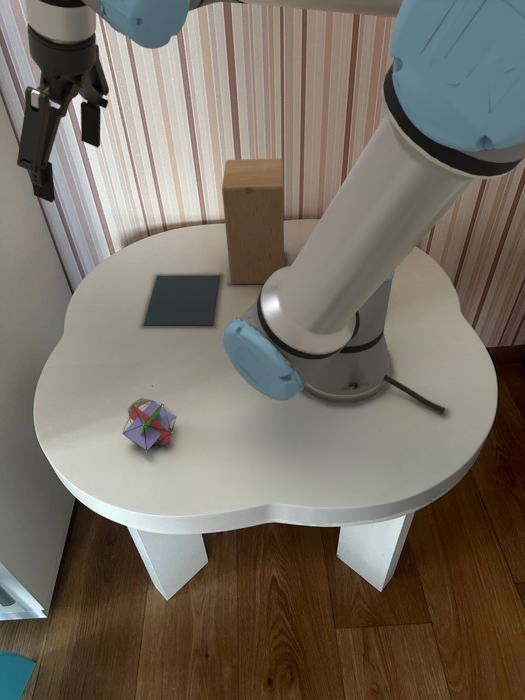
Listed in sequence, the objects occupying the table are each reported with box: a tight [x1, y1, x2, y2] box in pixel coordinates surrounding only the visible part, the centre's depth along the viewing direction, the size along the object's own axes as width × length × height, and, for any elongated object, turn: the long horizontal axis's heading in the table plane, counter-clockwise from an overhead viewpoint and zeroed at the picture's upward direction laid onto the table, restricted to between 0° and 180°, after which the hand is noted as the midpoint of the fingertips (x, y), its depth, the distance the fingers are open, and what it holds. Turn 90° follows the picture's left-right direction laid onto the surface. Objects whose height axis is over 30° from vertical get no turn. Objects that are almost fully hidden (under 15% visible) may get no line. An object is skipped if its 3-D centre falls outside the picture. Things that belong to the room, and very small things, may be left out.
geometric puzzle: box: [121, 397, 178, 453], centre depth 78 cm, size 7×7×8 cm
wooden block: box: [221, 158, 285, 285], centre depth 101 cm, size 10×10×20 cm
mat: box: [143, 275, 221, 327], centre depth 102 cm, size 14×12×1 cm
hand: (68, 169), depth 83 cm, fingers open, 13 cm apart
